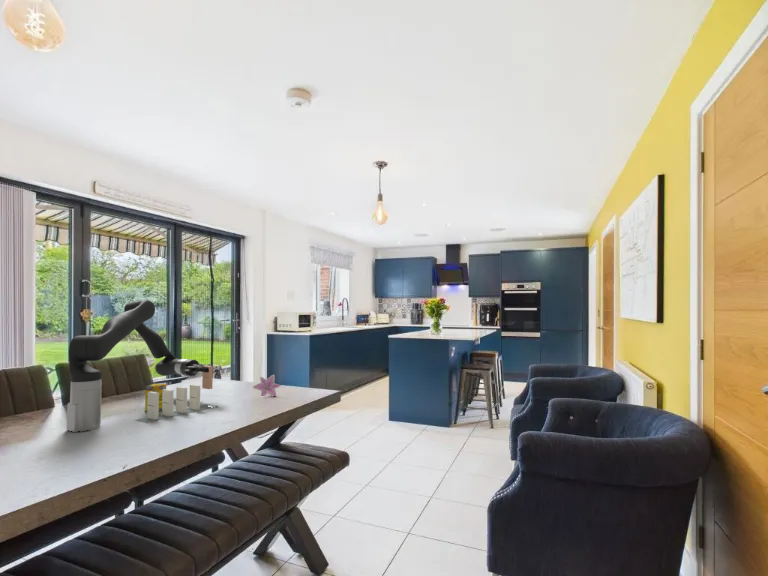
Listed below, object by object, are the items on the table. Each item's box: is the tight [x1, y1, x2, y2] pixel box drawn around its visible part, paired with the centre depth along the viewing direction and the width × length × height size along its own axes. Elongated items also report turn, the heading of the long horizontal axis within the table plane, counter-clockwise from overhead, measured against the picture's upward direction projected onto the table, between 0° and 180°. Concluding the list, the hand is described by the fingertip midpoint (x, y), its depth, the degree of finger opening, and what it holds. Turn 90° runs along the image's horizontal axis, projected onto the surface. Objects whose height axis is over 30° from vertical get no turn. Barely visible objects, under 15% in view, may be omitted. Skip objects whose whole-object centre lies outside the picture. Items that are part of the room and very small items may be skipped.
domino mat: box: [135, 403, 215, 424], centre depth 175 cm, size 31×9×1 cm, turn 148°
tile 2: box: [188, 384, 201, 410], centre depth 181 cm, size 2×5×10 cm, turn 58°
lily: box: [252, 374, 281, 397], centre depth 210 cm, size 12×12×10 cm
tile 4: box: [161, 388, 174, 416], centre depth 171 cm, size 2×5×10 cm, turn 58°
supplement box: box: [144, 383, 167, 413], centre depth 179 cm, size 6×6×11 cm
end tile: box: [146, 391, 159, 420], centre depth 166 cm, size 2×5×10 cm, turn 58°
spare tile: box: [201, 365, 214, 390], centre depth 192 cm, size 2×5×10 cm, turn 58°
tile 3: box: [175, 386, 188, 413], centre depth 176 cm, size 2×5×10 cm, turn 58°
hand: (210, 369), depth 191 cm, fingers closed on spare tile, 1 cm apart
